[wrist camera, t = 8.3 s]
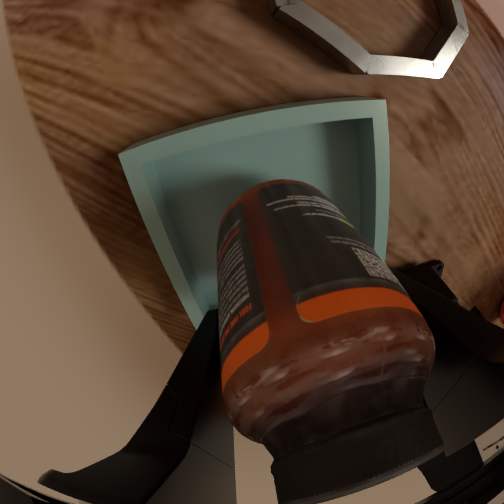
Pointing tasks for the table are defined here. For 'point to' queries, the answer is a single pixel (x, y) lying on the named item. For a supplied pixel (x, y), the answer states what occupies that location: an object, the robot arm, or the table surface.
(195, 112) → the table surface
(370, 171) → the tray
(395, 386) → the supplement bottle
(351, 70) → the holder ring
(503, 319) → the plant pot
